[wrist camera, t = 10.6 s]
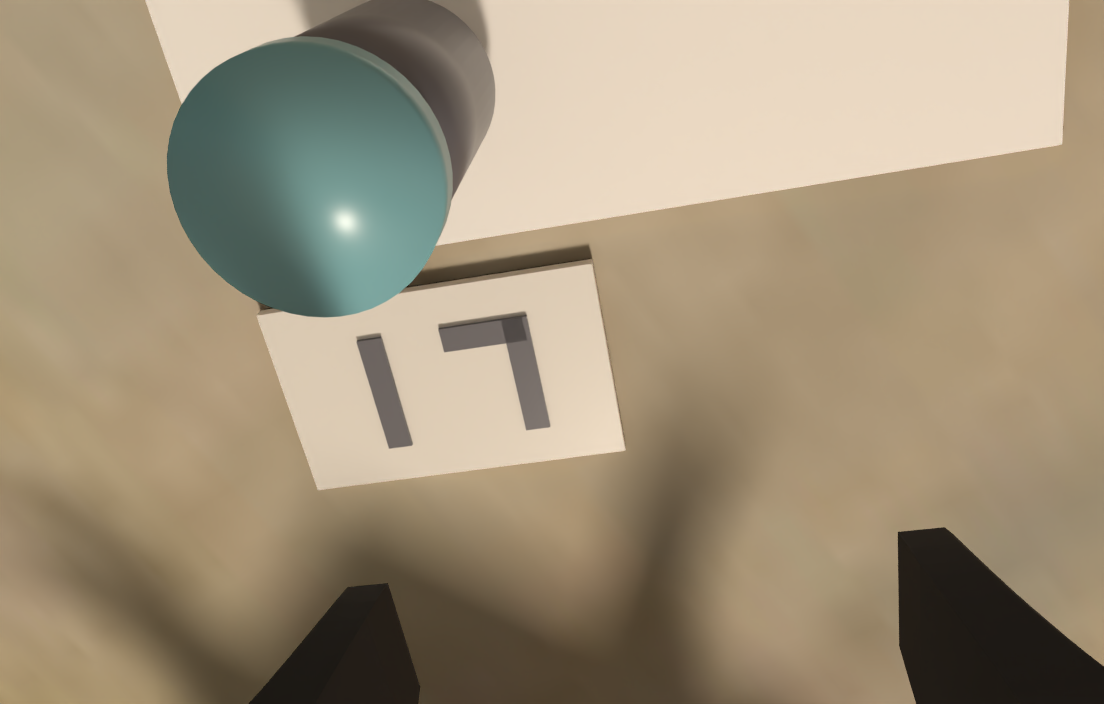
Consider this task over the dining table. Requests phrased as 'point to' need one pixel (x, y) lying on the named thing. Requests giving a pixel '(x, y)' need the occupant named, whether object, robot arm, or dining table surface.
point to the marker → (332, 155)
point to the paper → (702, 93)
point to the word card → (451, 377)
